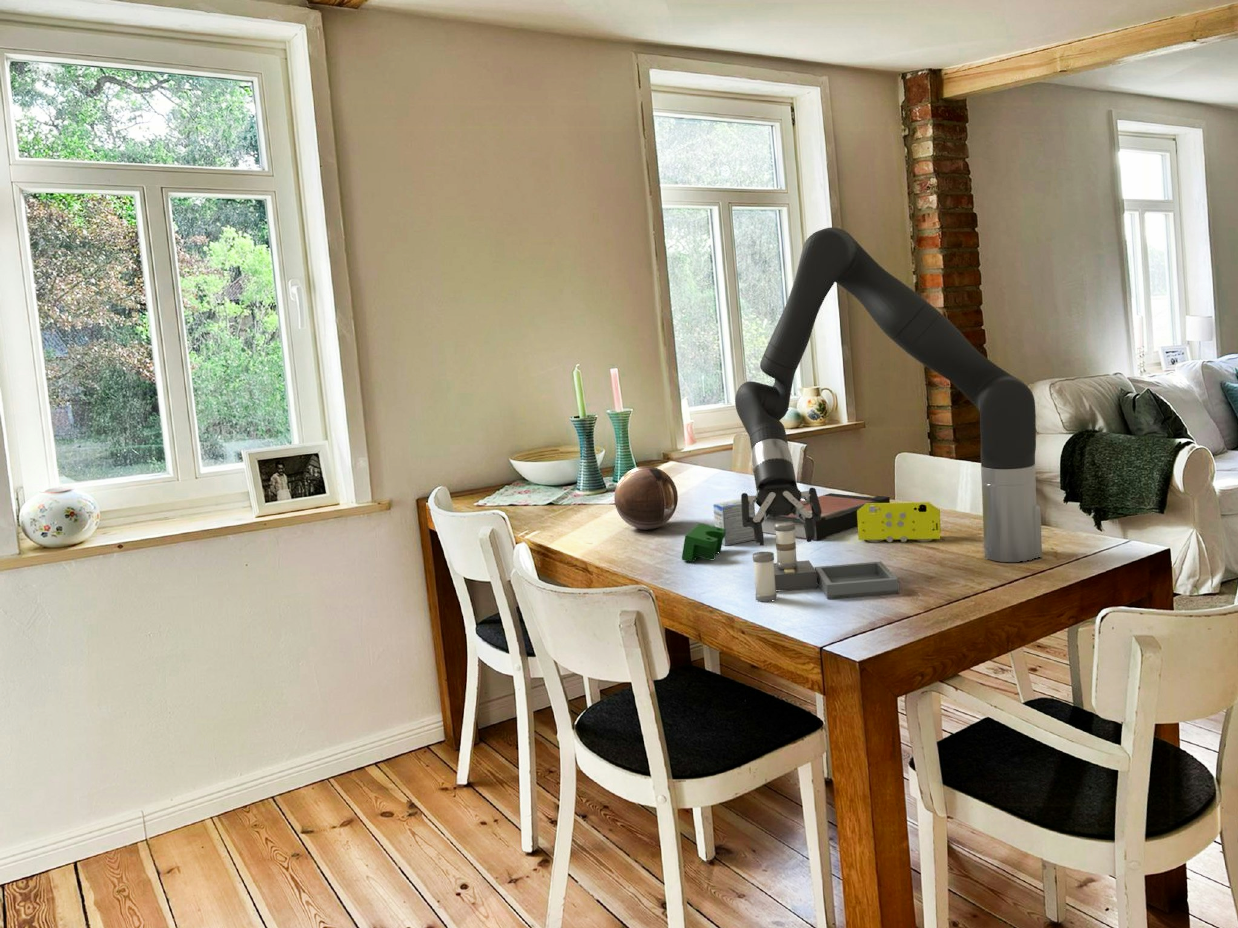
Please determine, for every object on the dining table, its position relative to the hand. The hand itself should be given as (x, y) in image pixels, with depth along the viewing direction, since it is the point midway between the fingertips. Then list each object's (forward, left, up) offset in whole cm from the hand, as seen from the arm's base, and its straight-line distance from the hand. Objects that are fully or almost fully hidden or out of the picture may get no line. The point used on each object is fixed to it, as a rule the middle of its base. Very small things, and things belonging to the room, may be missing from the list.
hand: (785, 541), depth 176 cm
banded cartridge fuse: (0, -1, -5) cm, 5 cm away
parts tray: (-11, +4, -8) cm, 14 cm away
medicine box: (+6, -37, -8) cm, 38 cm away
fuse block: (0, -1, -8) cm, 8 cm away
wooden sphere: (+25, -57, -8) cm, 62 cm away
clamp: (+13, -26, -8) cm, 30 cm away
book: (-15, -46, -9) cm, 49 cm away
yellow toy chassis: (-27, -26, -8) cm, 38 cm away
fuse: (+5, +7, -8) cm, 12 cm away
